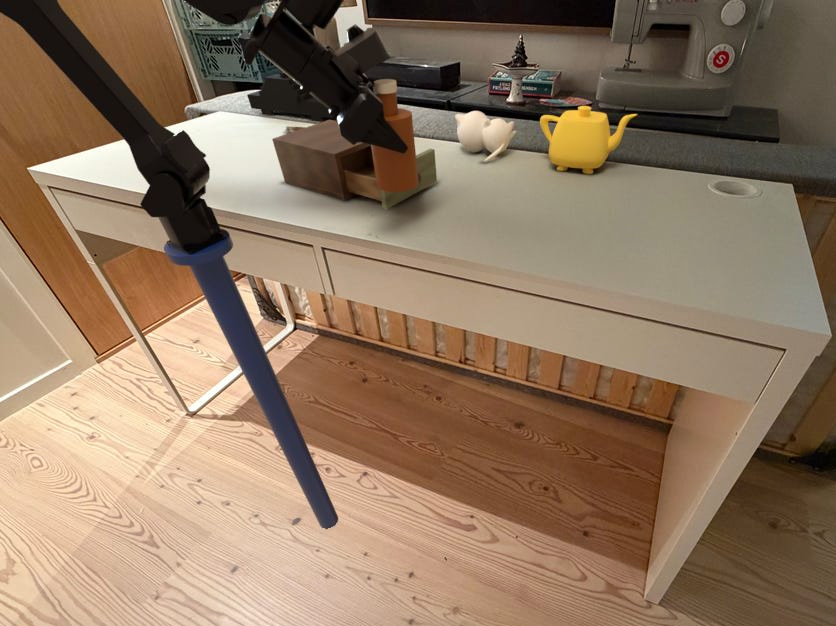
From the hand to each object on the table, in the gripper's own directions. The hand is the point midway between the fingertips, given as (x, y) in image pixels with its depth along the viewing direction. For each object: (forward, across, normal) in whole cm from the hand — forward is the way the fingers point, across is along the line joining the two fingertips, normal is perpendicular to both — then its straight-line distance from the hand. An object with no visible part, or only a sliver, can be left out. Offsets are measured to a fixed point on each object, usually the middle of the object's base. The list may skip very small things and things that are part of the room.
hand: (402, 143), depth 68 cm
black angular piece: (-2, +73, +19) cm, 75 cm away
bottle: (+3, 0, +5) cm, 6 cm away
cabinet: (+2, +22, +15) cm, 27 cm away
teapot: (+35, +13, -18) cm, 41 cm away
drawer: (+6, +13, +10) cm, 18 cm away
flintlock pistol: (+1, +48, +16) cm, 51 cm away
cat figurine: (+23, +26, -6) cm, 35 cm away
